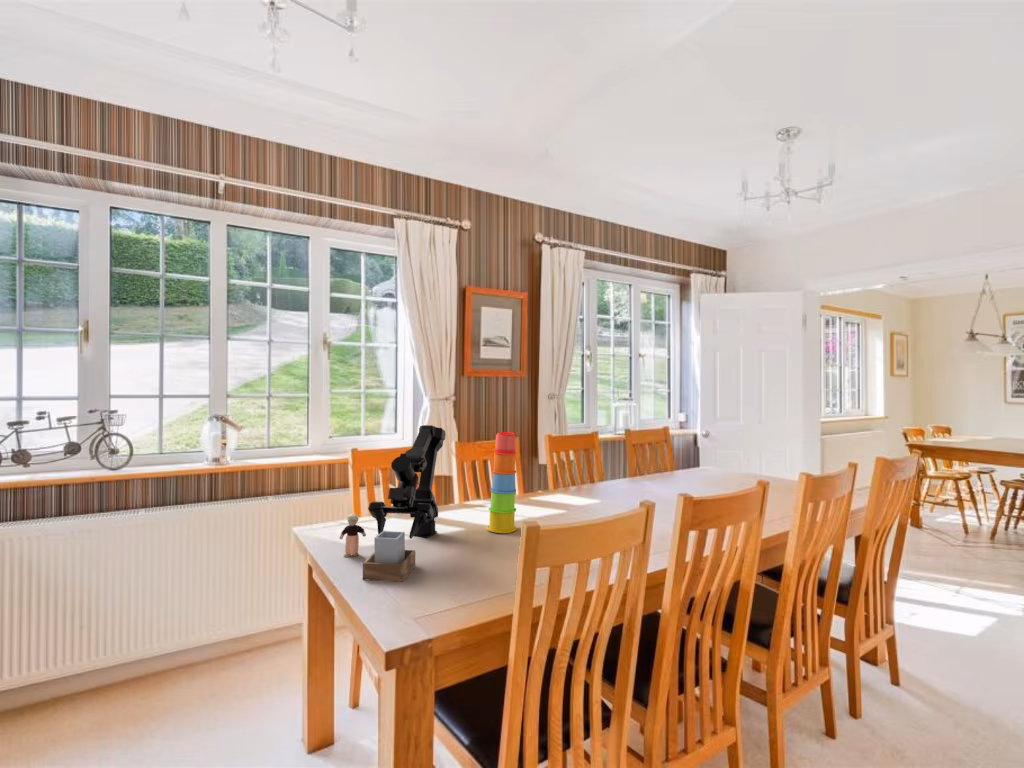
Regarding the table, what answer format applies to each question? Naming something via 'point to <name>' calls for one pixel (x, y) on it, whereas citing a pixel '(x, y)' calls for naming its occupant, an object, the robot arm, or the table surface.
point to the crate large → (389, 568)
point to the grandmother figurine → (352, 536)
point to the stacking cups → (503, 485)
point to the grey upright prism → (390, 547)
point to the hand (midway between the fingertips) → (394, 537)
